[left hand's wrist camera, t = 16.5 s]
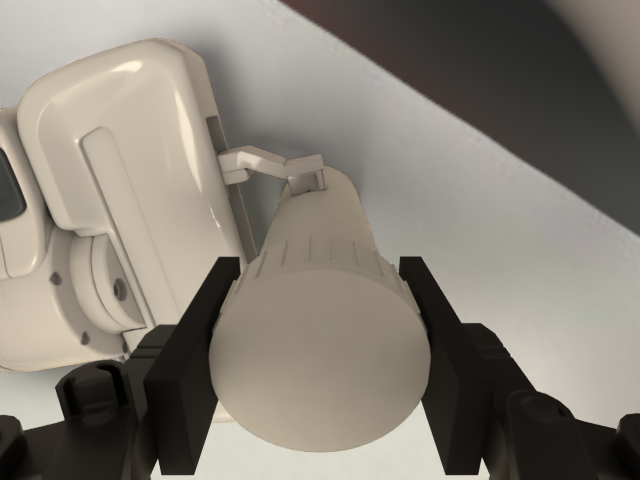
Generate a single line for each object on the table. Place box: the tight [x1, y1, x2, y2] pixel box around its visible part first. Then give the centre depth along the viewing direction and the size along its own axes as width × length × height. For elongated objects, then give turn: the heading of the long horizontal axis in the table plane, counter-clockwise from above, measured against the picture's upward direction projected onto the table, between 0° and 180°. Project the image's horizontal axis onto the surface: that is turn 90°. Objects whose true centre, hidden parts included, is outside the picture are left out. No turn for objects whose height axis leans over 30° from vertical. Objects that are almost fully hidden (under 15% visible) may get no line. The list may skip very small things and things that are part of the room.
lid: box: [209, 235, 431, 453], centre depth 11 cm, size 6×6×2 cm
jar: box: [260, 166, 380, 255], centre depth 18 cm, size 5×5×16 cm
